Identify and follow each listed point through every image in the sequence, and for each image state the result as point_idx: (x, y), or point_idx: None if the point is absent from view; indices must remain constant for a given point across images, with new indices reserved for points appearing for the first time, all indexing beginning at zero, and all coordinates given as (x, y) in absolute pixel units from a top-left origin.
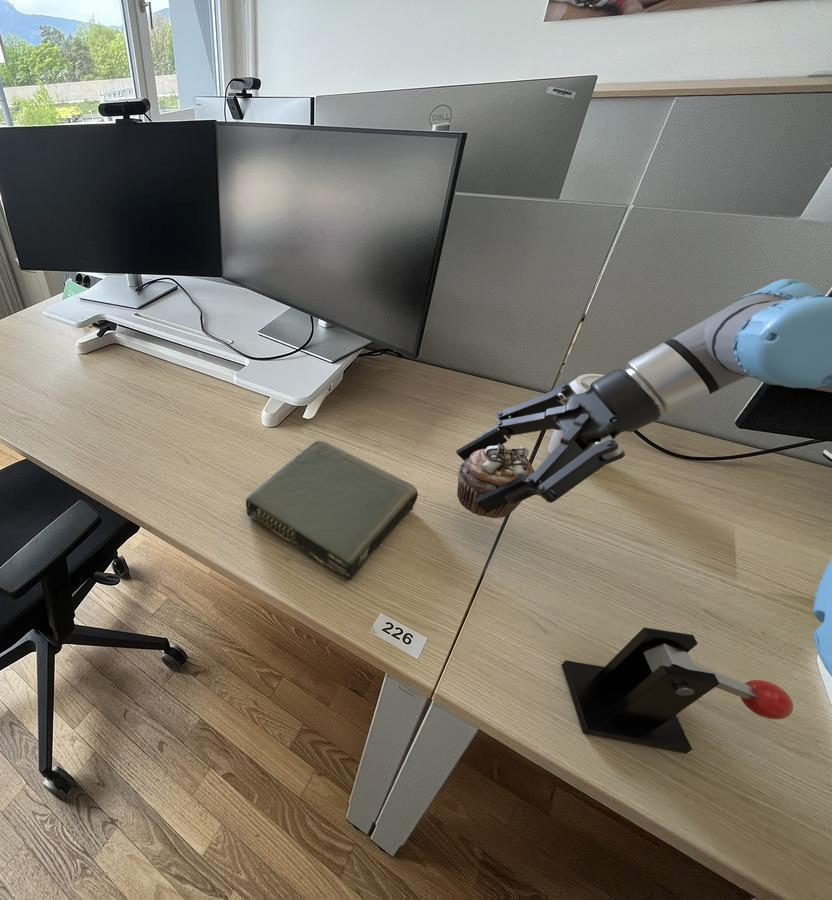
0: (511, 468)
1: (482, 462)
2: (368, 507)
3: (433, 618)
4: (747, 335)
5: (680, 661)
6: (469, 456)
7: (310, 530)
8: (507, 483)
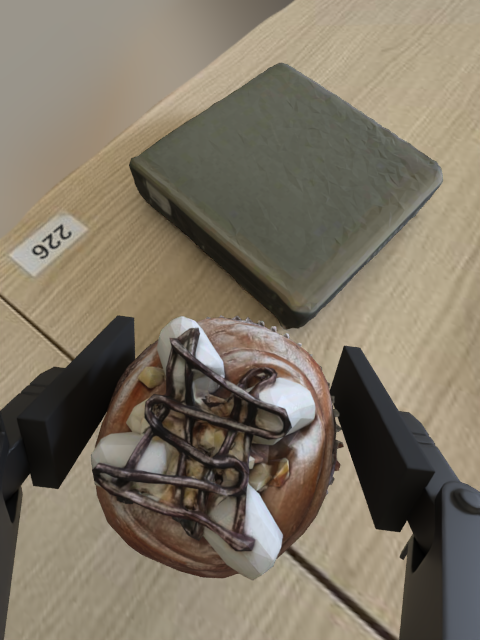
0: (141, 423)
1: (228, 346)
2: (251, 210)
3: (61, 294)
4: None
5: None
6: (339, 388)
7: (205, 122)
8: (79, 378)
